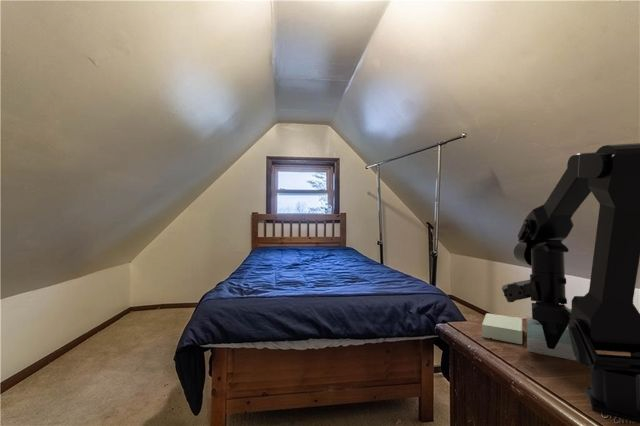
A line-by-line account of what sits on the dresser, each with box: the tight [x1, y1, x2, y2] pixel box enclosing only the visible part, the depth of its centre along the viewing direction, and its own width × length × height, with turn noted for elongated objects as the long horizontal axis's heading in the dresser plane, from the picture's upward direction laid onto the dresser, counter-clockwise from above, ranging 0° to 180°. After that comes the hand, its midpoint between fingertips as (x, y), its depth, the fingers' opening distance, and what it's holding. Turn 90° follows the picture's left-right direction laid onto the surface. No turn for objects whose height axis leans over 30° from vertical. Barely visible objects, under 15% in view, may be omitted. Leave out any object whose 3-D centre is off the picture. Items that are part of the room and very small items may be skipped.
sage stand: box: [481, 313, 523, 345], centre depth 75 cm, size 10×8×3 cm
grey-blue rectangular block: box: [526, 316, 577, 361], centre depth 65 cm, size 5×8×6 cm, turn 56°
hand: (549, 343), depth 65 cm, fingers closed on grey-blue rectangular block, 5 cm apart
